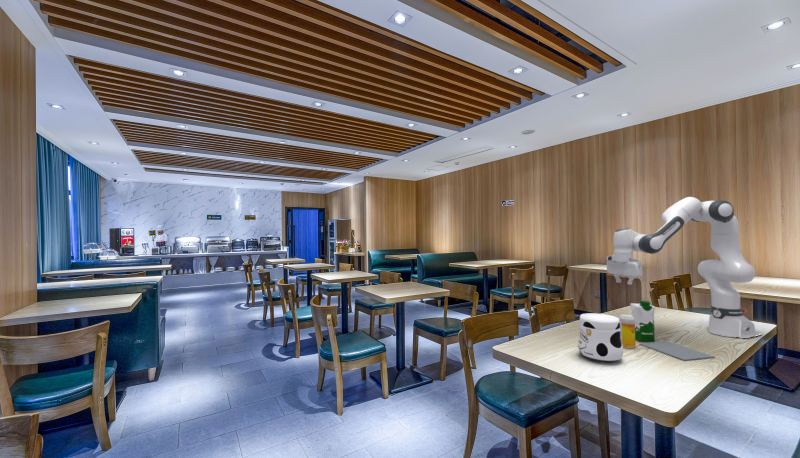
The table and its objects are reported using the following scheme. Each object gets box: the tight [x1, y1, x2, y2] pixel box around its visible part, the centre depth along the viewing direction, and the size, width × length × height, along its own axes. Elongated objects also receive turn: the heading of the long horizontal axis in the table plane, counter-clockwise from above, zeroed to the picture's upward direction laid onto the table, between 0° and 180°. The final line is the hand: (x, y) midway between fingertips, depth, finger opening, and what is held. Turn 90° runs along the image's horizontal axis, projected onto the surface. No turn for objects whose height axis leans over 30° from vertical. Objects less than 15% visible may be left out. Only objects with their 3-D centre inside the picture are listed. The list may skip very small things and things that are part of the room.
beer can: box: [619, 314, 636, 350], centre depth 164 cm, size 6×6×15 cm
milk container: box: [577, 312, 624, 363], centre depth 151 cm, size 17×17×18 cm
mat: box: [638, 340, 716, 362], centre depth 158 cm, size 16×22×1 cm
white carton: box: [630, 300, 656, 343], centre depth 174 cm, size 9×9×20 cm
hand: (624, 283), depth 185 cm, fingers open, 6 cm apart
